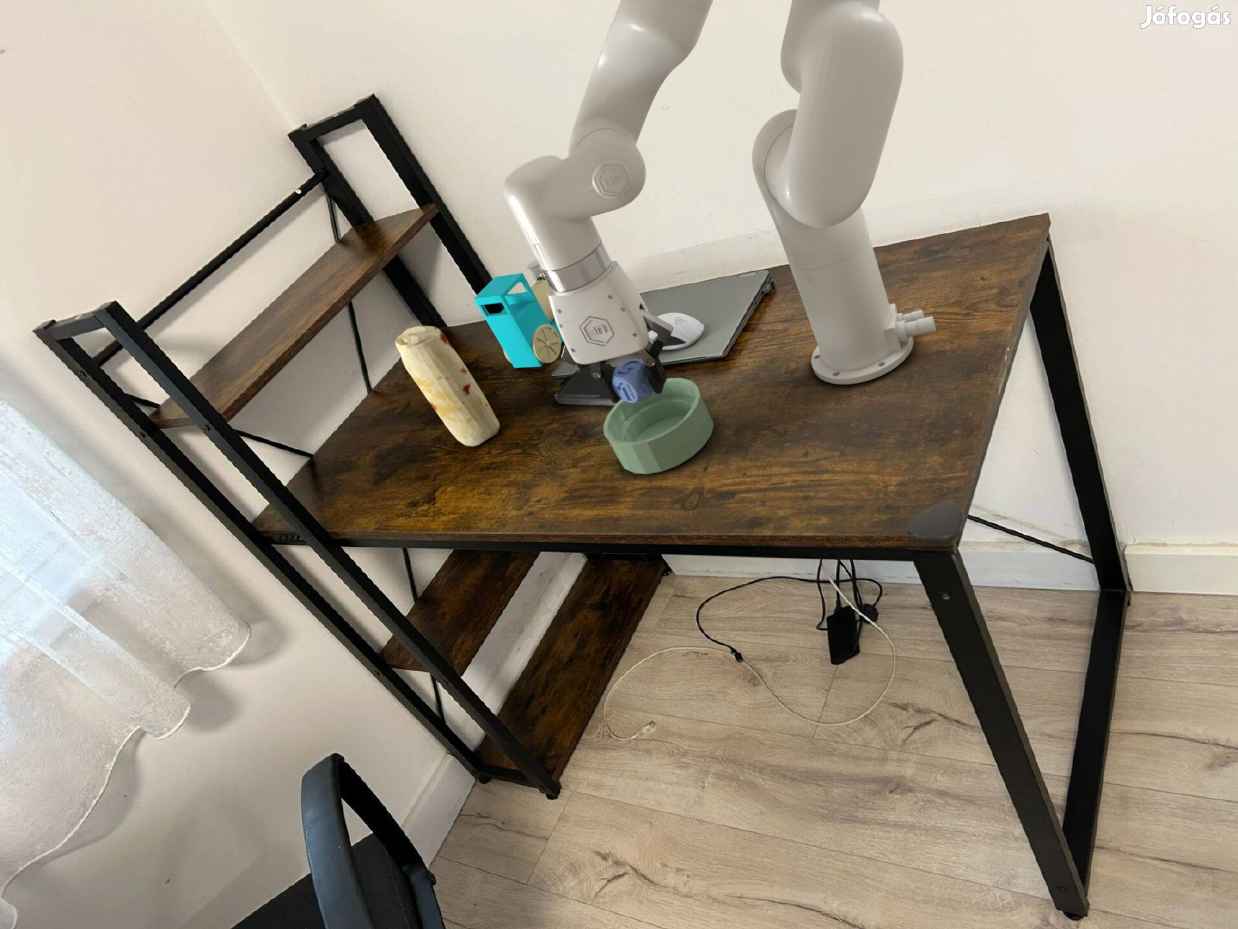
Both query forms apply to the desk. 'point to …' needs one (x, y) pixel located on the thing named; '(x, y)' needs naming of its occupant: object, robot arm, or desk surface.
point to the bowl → (659, 428)
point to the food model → (447, 384)
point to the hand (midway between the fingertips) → (639, 390)
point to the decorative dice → (632, 381)
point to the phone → (583, 391)
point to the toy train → (522, 319)
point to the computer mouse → (680, 330)
